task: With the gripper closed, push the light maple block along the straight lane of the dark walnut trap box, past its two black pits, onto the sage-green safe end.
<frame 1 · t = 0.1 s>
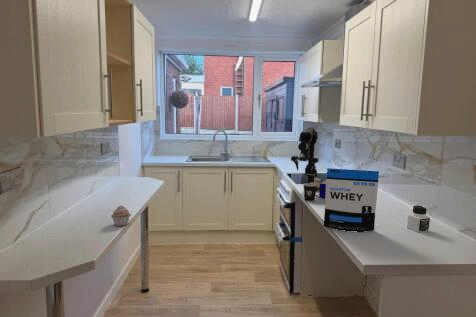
hand: (304, 171, 245), 15 cm above the countertop, tool pointing down, fingers open, 9 cm apart
trap box: (320, 189, 253), on the countertop
coffee mug: (311, 200, 224), on the countertop
medicine bottle: (417, 229, 174), on the countertop
cupcake: (121, 224, 173), on the countertop
maple block: (317, 184, 257), point 3 cm above the countertop, touching trap box
puzzle cube: (328, 197, 232), on the countertop
protein powder: (348, 228, 173), on the countertop
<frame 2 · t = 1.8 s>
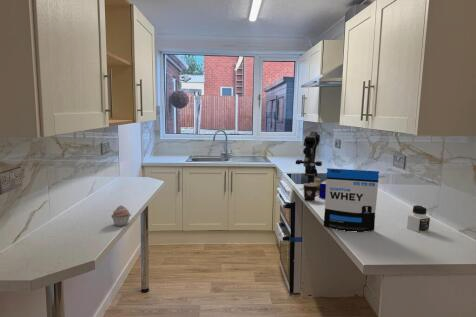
hand: (308, 174, 258), 10 cm above the countertop, tool pointing down, fingers closed
nothing on the countertop moved.
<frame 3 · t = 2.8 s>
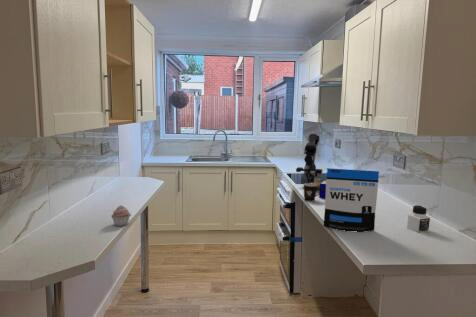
hand: (308, 181, 259), 4 cm above the countertop, tool pointing down, fingers closed
nothing on the countertop moved.
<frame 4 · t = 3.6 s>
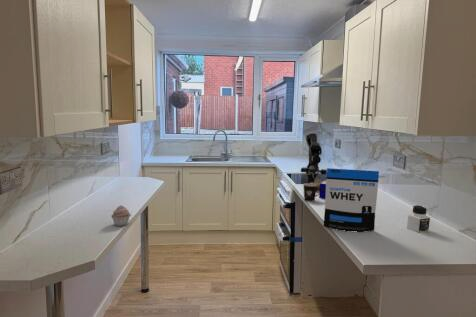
hand: (313, 182, 258), 4 cm above the countertop, tool pointing down, fingers closed
maple block: (318, 184, 256), point 3 cm above the countertop, touching gripper
everything else where it was.
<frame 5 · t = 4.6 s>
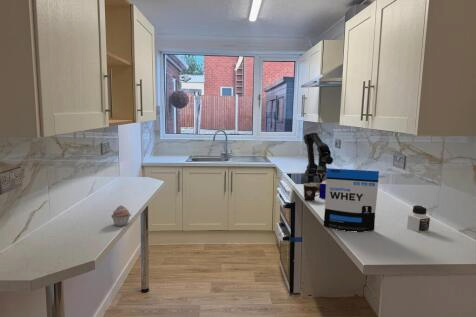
hand: (321, 182, 255), 4 cm above the countertop, tool pointing down, fingers closed
maple block: (325, 185, 254), point 3 cm above the countertop, touching gripper
everything else where it was.
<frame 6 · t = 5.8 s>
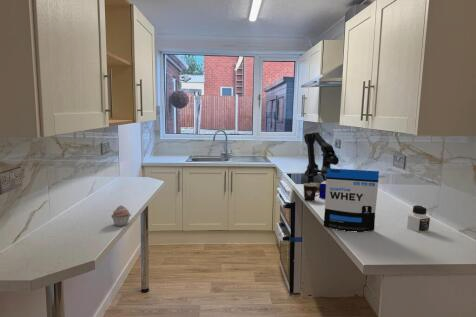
hand: (325, 183, 254), 4 cm above the countertop, tool pointing down, fingers closed
maple block: (330, 185, 253), point 3 cm above the countertop, touching gripper, trap box
everything else where it was.
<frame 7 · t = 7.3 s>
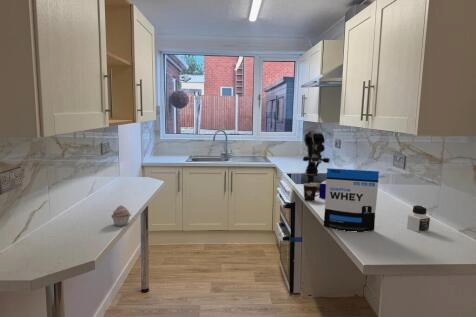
hand: (315, 170, 258), 13 cm above the countertop, tool pointing down, fingers closed
maple block: (330, 185, 253), point 3 cm above the countertop, touching trap box
everything else where it was.
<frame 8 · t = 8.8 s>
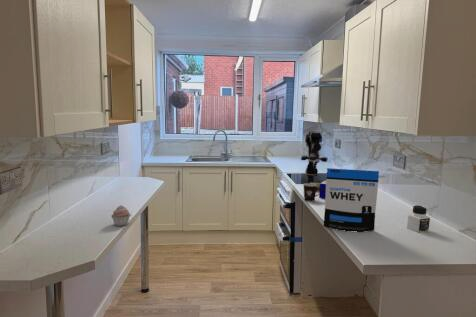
hand: (313, 170, 259), 13 cm above the countertop, tool pointing down, fingers closed
nothing on the countertop moved.
at the end: maple block 0.3 cm from the target spot, point 3.0 cm above the countertop; maple block tilted 0° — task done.
